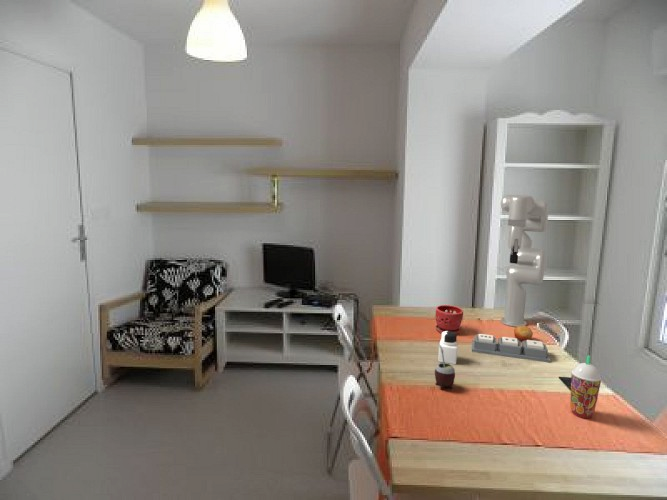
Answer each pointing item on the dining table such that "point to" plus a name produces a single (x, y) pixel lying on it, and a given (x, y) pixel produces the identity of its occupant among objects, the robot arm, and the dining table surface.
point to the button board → (510, 350)
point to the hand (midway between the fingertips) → (513, 263)
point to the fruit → (523, 333)
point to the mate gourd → (444, 374)
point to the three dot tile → (485, 338)
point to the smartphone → (566, 381)
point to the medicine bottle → (448, 347)
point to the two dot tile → (509, 341)
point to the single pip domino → (534, 344)
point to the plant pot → (448, 318)
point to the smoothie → (584, 389)
